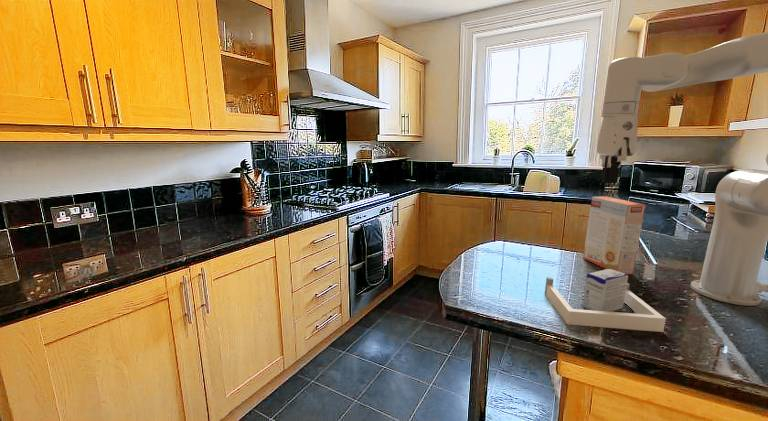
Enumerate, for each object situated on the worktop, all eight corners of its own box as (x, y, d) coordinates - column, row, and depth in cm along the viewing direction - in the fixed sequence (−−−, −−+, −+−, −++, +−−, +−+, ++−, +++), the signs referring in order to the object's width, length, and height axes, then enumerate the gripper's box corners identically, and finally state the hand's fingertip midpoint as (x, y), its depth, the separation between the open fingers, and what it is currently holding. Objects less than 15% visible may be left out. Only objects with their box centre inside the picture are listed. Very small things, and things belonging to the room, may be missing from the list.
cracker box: (634, 275, 96) (647, 204, 92) (615, 275, 96) (627, 204, 91) (598, 258, 110) (608, 195, 105) (581, 258, 109) (590, 195, 105)
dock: (623, 298, 82) (626, 282, 81) (663, 332, 68) (667, 312, 67) (544, 293, 84) (546, 277, 83) (566, 324, 70) (569, 305, 69)
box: (603, 300, 81) (608, 267, 79) (622, 309, 77) (629, 274, 75) (581, 307, 78) (586, 272, 76) (600, 316, 74) (606, 280, 72)
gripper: (655, 108, 77) (641, 187, 81) (619, 113, 91) (609, 179, 95) (619, 108, 78) (607, 186, 82) (590, 113, 92) (581, 178, 96)
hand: (608, 182), depth 88 cm, fingers closed
